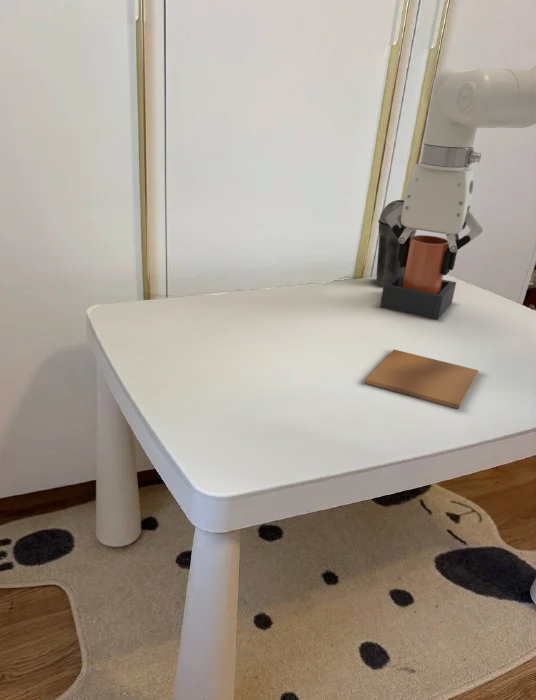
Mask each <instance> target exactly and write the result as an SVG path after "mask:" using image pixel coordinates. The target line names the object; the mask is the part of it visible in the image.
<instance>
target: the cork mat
mask: <svg viewBox="0 0 536 700" xmlns="http://www.w3.org/2000/svg"><path fill="white" fill-rule="evenodd" d="M479 372H480V370H479V369H476V368H471V367H467V366H463V365H459V364H456V363H455V364H454V363H451V362H446V361H443V360H438V359H435V358H430V357H428V356H427V357H426V356H422V355H418V354H415V353H410V352H406V351H403V350H398V349H393V350H392V351H391V352H390V353H389V354H388V355H387V356H386V357H385V359H384V360H383V361H382V362H381V363H380V364H379V365H378V366H377V367H376V368H375V369H374V370H373V371H372V372H371V373H370V374H369V375H368V377H367V378H366V379H365V384H367V385H371V386H374V387H378V388H382V389H385V390H389V391H392V392H396V393H400V394H403V395H407V396H411V397H414V398H417V399H422V400H425V401H429V402H432V403H437V404H439V405H443V406H447V407H451V408H454V409H457V410H458V409H460V407H461V405H462V403H464V400H465V399H466V396H467V395H468V393H469V391H470V390H471V387H472V386H473V384H474V382H475V380H476V378H477V377H478V375H479Z"/></svg>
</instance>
